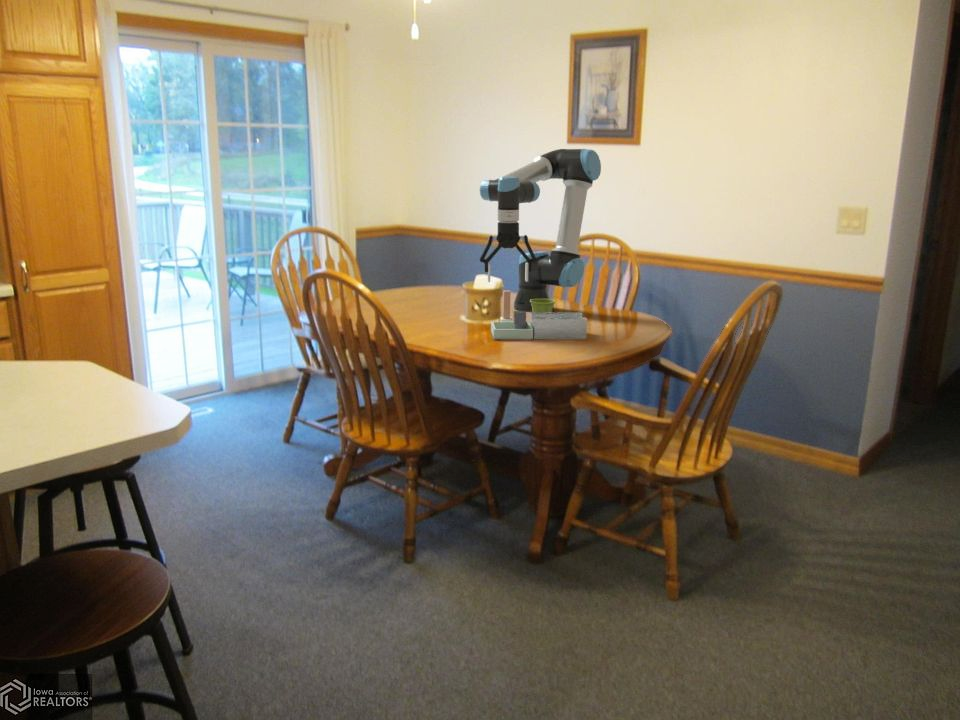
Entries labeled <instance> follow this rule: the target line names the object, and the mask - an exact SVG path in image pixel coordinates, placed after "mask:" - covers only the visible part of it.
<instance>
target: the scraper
mask: <svg viewBox="0 0 960 720" xmlns="http://www.w3.org/2000/svg"><path fill="white" fill-rule="evenodd" d="M502 294H503V296H502V299H503V300H502V316H500V319H499V320H500V321H499V322H513V317H512V316H511V296H512V295H511V290H503V293H502Z"/></svg>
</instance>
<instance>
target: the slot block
mask: <svg viewBox="0 0 960 720" xmlns="http://www.w3.org/2000/svg"><path fill="white" fill-rule="evenodd" d="M529 323H530V325H531V326H532V328H533V340H587V332H588V318H587V317H583V313H582V312H579V311H578V312H567V311H566V312H563V311H562V312H560V311H559V312H555V311H554V312H553V311H552V312H532V311H530V321H529Z"/></svg>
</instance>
